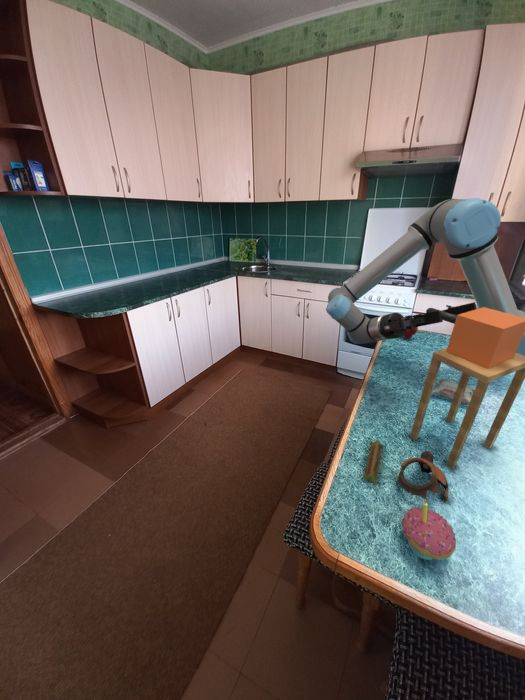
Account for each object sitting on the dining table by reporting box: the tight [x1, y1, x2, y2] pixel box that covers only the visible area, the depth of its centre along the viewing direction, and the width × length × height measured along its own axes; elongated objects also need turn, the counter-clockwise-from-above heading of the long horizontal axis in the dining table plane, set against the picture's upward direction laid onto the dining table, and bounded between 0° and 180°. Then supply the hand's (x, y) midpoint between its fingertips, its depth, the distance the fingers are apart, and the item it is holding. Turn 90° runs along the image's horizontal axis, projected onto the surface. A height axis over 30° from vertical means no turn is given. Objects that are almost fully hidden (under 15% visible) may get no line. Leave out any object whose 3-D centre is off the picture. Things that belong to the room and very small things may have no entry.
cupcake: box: [401, 499, 457, 561], centre depth 51 cm, size 9×8×12 cm
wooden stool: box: [409, 347, 525, 470], centre depth 71 cm, size 16×12×26 cm
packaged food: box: [432, 378, 475, 406], centre depth 92 cm, size 9×12×5 cm
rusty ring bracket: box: [397, 450, 449, 502], centre depth 64 cm, size 12×10×8 cm
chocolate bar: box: [363, 439, 383, 484], centre depth 71 cm, size 3×12×2 cm, turn 154°
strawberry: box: [402, 325, 419, 340], centre depth 131 cm, size 6×8×10 cm
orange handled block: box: [425, 307, 525, 369], centre depth 67 cm, size 10×19×9 cm, turn 28°
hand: (458, 311), depth 68 cm, fingers open, 12 cm apart
